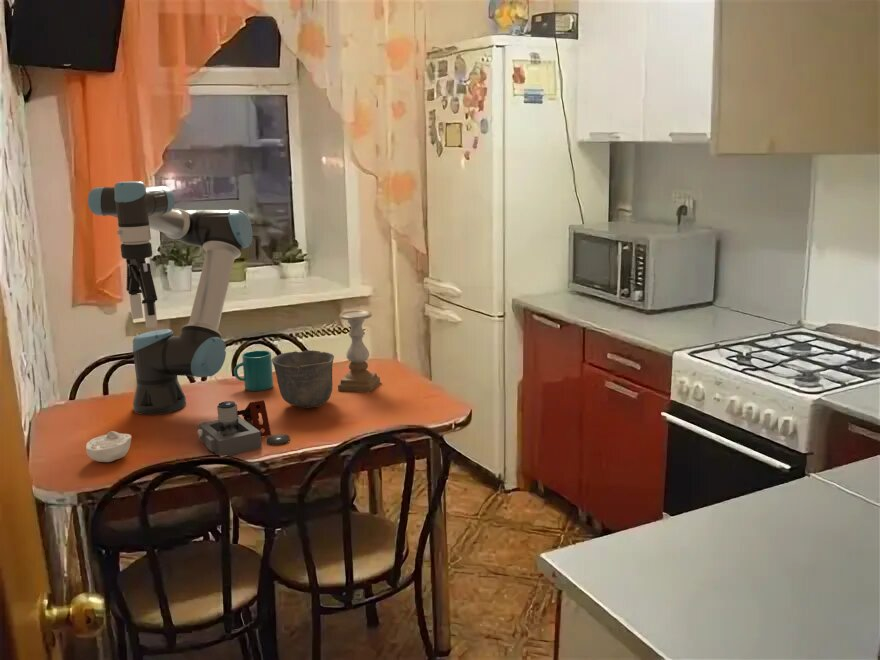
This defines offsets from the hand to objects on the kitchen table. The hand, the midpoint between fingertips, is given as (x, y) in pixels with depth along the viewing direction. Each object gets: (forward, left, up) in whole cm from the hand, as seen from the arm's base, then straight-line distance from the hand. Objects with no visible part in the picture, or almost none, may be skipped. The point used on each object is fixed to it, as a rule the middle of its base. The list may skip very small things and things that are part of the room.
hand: (144, 322), depth 219 cm
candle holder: (-5, +66, -32) cm, 73 cm away
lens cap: (+24, +25, -32) cm, 47 cm away
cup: (-25, +38, -32) cm, 56 cm away
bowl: (+2, +43, -32) cm, 54 cm away
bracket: (+9, +21, -32) cm, 40 cm away
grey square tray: (+18, +14, -32) cm, 39 cm away
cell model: (+9, -14, -32) cm, 36 cm away
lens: (+18, +14, -30) cm, 37 cm away
